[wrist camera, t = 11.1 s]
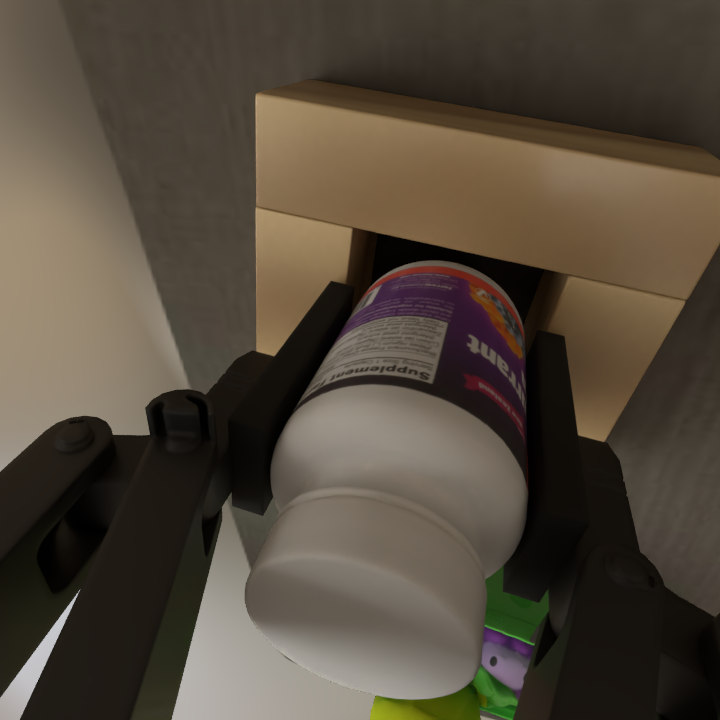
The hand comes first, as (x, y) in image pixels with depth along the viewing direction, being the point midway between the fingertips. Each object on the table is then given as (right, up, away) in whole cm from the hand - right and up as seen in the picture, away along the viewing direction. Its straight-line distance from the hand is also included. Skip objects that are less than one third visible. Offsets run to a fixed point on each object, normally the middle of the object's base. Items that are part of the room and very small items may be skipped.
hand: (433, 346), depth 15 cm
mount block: (+1, +2, +3) cm, 4 cm away
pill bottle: (0, 0, +1) cm, 1 cm away
